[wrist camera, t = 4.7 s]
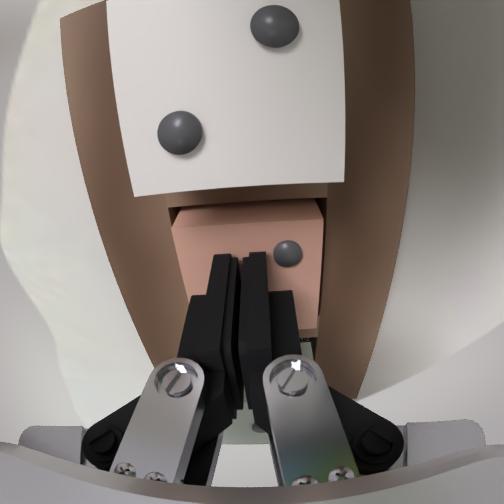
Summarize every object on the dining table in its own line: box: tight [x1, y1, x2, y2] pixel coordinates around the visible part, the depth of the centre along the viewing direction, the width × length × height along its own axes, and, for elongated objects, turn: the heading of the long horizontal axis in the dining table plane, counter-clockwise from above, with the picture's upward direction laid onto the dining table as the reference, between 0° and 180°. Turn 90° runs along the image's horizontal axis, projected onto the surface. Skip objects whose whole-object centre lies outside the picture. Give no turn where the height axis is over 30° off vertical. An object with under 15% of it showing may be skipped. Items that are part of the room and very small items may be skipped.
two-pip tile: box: [106, 0, 345, 197], centre depth 6 cm, size 5×5×3 cm
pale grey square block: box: [222, 342, 313, 444], centre depth 13 cm, size 5×5×3 cm
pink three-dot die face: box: [171, 198, 324, 330], centre depth 12 cm, size 5×5×3 cm
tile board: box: [60, 0, 415, 399], centre depth 12 cm, size 11×20×2 cm, turn 4°
